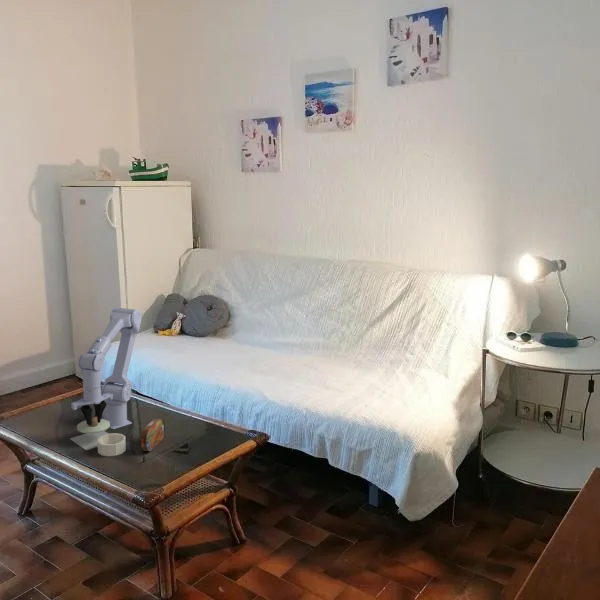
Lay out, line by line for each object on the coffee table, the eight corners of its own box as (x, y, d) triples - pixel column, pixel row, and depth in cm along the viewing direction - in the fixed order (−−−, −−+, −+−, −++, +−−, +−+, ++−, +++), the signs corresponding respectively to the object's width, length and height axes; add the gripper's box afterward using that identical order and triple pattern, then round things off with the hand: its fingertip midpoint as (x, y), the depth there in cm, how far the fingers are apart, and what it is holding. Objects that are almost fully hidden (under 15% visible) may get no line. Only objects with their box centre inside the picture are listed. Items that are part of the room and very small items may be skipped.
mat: (69, 439, 209) (69, 438, 209) (101, 429, 217) (101, 428, 217) (86, 451, 201) (86, 450, 201) (118, 440, 209) (118, 439, 209)
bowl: (93, 450, 202) (92, 438, 201) (117, 442, 208) (116, 431, 207) (106, 460, 196) (106, 447, 195) (130, 451, 202) (130, 439, 201)
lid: (71, 426, 208) (70, 416, 207) (100, 417, 216) (99, 407, 215) (86, 436, 200) (86, 425, 200) (116, 427, 208) (115, 417, 208)
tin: (147, 455, 199) (147, 432, 198) (138, 454, 200) (138, 431, 198) (166, 436, 214) (165, 415, 212) (157, 435, 215) (157, 414, 213)
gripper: (77, 395, 197) (79, 432, 200) (117, 384, 207) (118, 420, 210) (67, 389, 202) (69, 426, 205) (106, 379, 212) (108, 414, 215)
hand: (93, 423), depth 208 cm, fingers closed on lid, 3 cm apart
